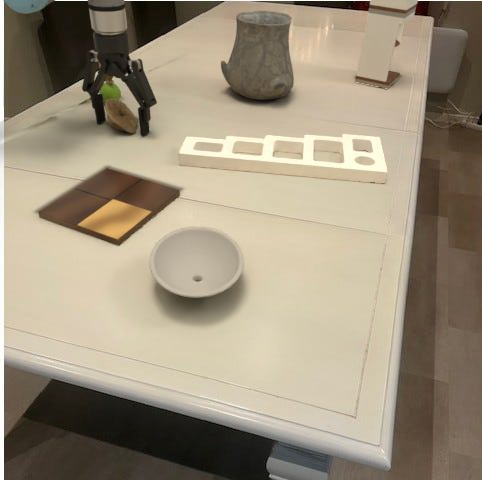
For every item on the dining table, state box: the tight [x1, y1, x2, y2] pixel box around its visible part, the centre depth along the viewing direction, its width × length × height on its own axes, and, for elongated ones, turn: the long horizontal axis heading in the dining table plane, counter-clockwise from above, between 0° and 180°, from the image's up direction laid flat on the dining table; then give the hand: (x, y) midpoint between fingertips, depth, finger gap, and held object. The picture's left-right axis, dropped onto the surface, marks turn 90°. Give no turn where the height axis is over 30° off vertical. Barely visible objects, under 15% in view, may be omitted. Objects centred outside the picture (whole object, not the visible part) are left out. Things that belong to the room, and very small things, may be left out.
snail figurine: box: [98, 61, 122, 103], centre depth 127 cm, size 5×6×12 cm
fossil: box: [104, 98, 138, 134], centre depth 117 cm, size 9×4×10 cm
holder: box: [178, 133, 388, 184], centre depth 111 cm, size 45×18×3 cm, turn 83°
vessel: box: [220, 10, 295, 101], centre depth 133 cm, size 22×22×20 cm
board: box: [37, 167, 181, 246], centre depth 92 cm, size 18×20×1 cm
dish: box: [148, 225, 245, 299], centre depth 75 cm, size 18×14×5 cm
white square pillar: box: [354, 0, 419, 90], centre depth 141 cm, size 11×11×35 cm
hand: (123, 128), depth 119 cm, fingers open, 12 cm apart
